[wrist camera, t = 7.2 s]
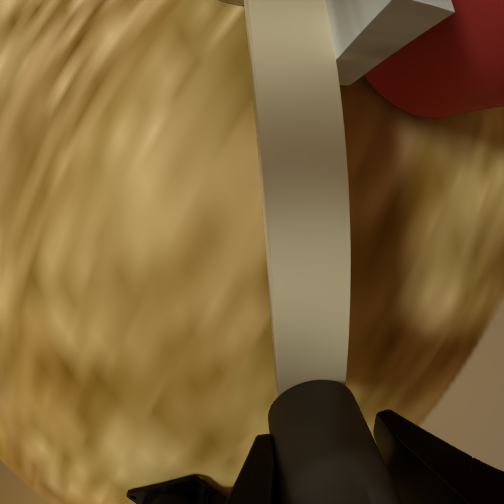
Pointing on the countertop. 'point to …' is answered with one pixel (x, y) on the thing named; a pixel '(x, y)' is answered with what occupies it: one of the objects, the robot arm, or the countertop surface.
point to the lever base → (234, 2)
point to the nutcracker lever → (317, 230)
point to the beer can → (448, 64)
